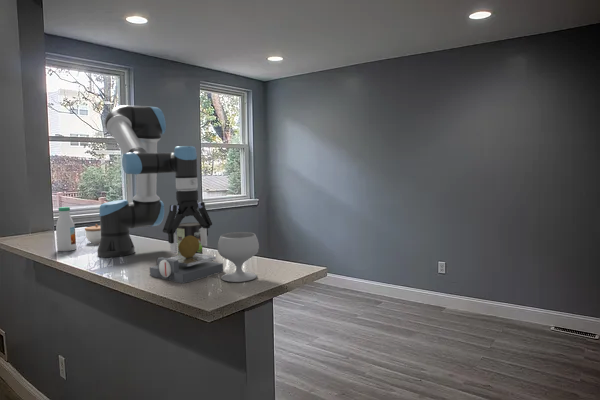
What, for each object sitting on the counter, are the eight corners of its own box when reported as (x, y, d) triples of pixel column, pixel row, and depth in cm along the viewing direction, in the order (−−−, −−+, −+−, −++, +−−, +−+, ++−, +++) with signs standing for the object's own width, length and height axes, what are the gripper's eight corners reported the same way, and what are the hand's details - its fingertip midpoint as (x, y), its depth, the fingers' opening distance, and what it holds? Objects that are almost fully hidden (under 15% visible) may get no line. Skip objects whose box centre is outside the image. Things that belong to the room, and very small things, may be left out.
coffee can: (206, 255, 185) (205, 222, 183) (196, 260, 175) (195, 226, 173) (184, 254, 187) (183, 222, 185) (173, 259, 177) (171, 225, 175)
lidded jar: (80, 244, 215) (79, 225, 214) (96, 240, 225) (95, 222, 224) (98, 244, 212) (97, 226, 211) (113, 240, 222) (112, 222, 221)
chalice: (224, 272, 155) (223, 231, 154) (263, 272, 154) (262, 231, 152) (213, 283, 141) (211, 238, 140) (255, 284, 140) (253, 238, 138)
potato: (200, 254, 160) (199, 233, 159) (199, 259, 152) (198, 236, 151) (180, 256, 158) (179, 234, 158) (178, 260, 151) (177, 238, 150)
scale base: (148, 276, 152) (147, 257, 151) (190, 265, 167) (189, 247, 166) (181, 284, 141) (180, 263, 141) (223, 271, 156) (222, 253, 156)
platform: (163, 261, 154) (163, 259, 154) (192, 254, 164) (192, 252, 164) (187, 266, 146) (187, 263, 146) (215, 259, 157) (215, 256, 157)
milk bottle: (66, 252, 195) (63, 208, 194) (53, 251, 198) (50, 208, 196) (80, 248, 203) (77, 206, 201) (67, 247, 205) (64, 206, 203)
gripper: (163, 192, 141) (166, 256, 143) (220, 187, 161) (222, 244, 163) (150, 192, 145) (153, 254, 147) (206, 187, 165) (208, 242, 167)
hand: (189, 248), depth 155 cm, fingers open, 13 cm apart
